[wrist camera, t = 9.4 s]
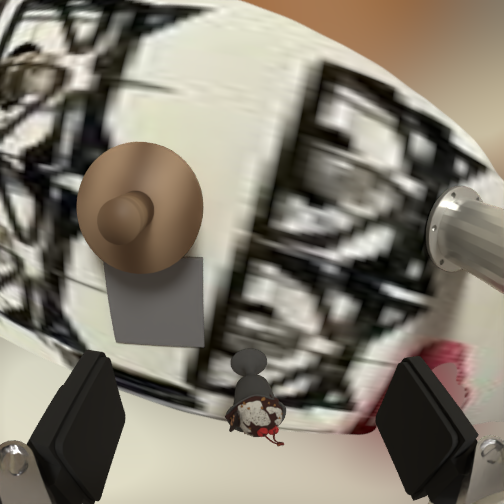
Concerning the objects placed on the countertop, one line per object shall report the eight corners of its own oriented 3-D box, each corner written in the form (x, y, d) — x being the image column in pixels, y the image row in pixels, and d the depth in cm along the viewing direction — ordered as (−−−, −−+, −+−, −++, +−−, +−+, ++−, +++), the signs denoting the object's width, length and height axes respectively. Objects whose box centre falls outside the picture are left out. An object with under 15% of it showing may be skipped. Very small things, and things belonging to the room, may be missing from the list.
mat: (202, 257, 35) (202, 259, 34) (204, 344, 38) (204, 347, 38) (104, 255, 33) (102, 256, 33) (117, 339, 37) (115, 342, 36)
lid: (205, 141, 26) (200, 137, 20) (202, 271, 30) (198, 299, 24) (81, 146, 25) (49, 146, 19) (87, 267, 28) (61, 292, 23)
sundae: (283, 359, 40) (308, 444, 26) (249, 386, 41) (260, 471, 27) (249, 334, 38) (263, 422, 24) (214, 363, 39) (214, 452, 25)
